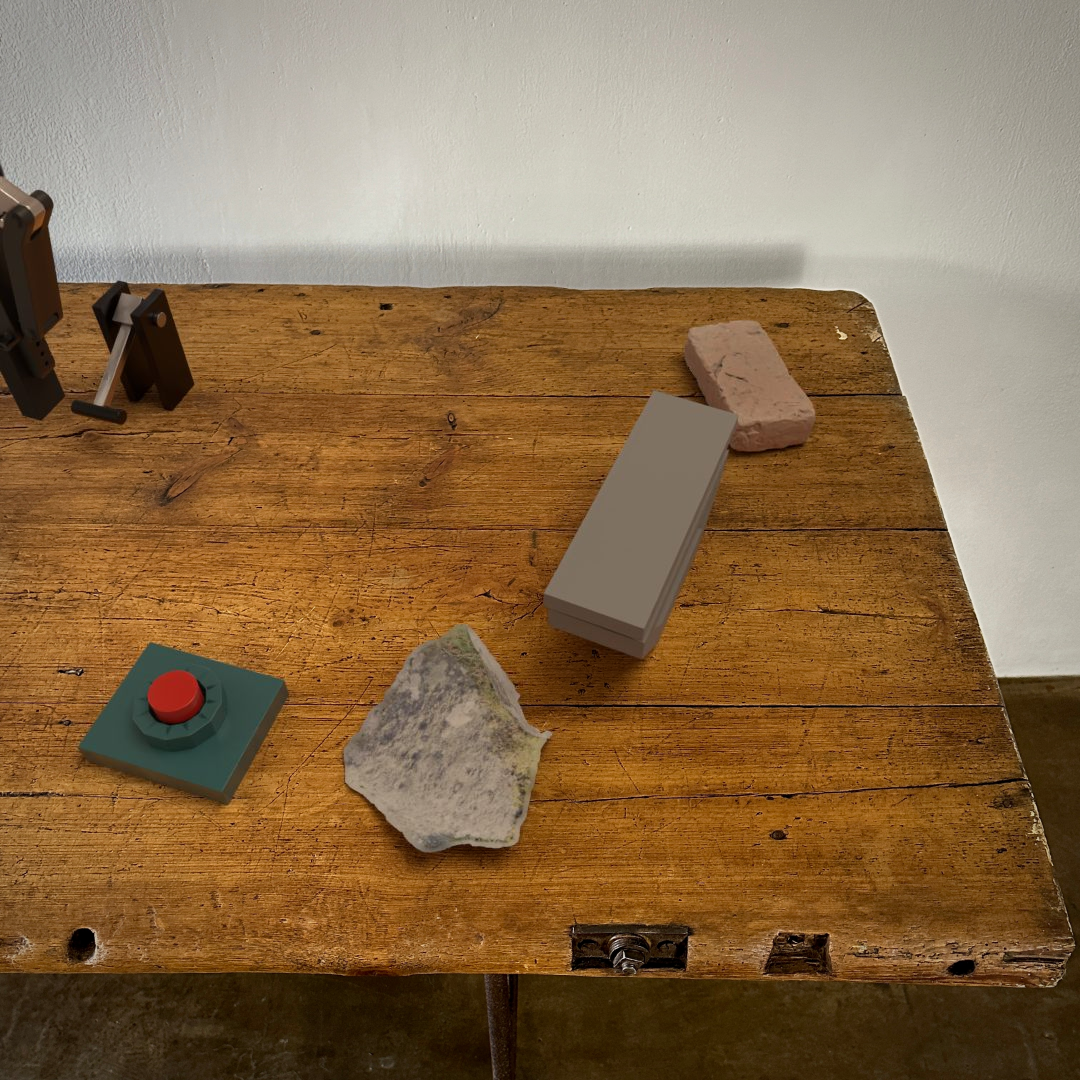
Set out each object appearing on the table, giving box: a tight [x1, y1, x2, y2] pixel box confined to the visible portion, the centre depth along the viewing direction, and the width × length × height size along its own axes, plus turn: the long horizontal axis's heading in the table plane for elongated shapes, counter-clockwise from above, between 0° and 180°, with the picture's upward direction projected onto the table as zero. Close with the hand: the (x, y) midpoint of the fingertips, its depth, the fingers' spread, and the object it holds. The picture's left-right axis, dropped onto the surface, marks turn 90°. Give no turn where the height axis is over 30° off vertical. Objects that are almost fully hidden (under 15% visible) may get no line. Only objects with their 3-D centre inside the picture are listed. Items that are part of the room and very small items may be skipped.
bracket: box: [91, 279, 195, 412], centre depth 96 cm, size 12×9×13 cm
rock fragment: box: [343, 623, 553, 853], centre depth 72 cm, size 15×16×5 cm
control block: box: [77, 641, 290, 806], centre depth 74 cm, size 12×10×4 cm
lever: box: [70, 293, 145, 426], centre depth 91 cm, size 12×5×2 cm, turn 163°
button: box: [148, 671, 203, 724], centre depth 73 cm, size 4×4×2 cm
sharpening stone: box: [542, 390, 739, 660], centre depth 82 cm, size 25×8×11 cm, turn 157°
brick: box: [683, 319, 816, 452], centre depth 101 cm, size 17×8×5 cm, turn 13°
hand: (44, 405), depth 67 cm, fingers closed
